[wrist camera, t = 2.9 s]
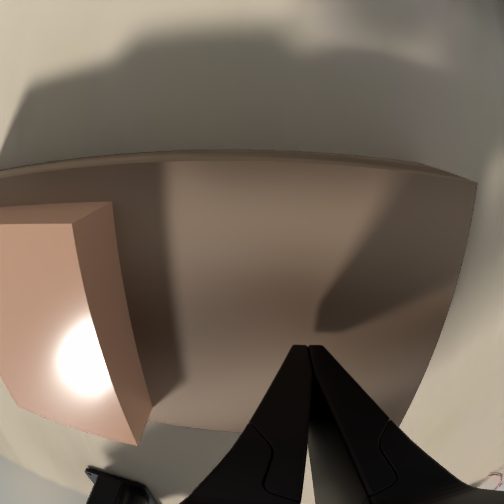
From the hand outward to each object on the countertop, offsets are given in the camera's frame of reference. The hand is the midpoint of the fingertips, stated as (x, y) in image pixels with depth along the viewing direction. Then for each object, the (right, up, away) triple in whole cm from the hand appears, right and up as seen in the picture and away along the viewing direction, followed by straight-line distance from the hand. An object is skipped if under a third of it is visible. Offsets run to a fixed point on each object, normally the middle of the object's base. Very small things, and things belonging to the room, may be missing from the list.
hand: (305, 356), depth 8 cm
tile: (-8, +1, +1) cm, 8 cm away
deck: (-5, +2, +5) cm, 7 cm away
